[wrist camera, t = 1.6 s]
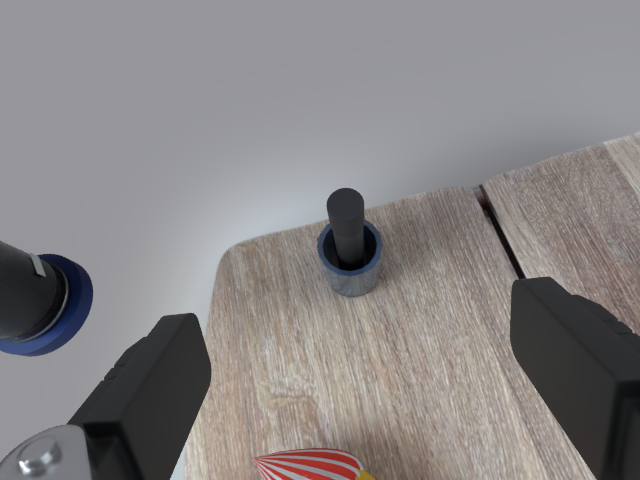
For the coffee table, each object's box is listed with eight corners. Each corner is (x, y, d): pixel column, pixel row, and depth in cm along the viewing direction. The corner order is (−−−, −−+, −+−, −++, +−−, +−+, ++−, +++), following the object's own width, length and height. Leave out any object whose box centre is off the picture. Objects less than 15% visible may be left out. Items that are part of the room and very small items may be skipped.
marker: (342, 283, 39) (330, 224, 27) (337, 259, 41) (323, 191, 28) (367, 278, 39) (367, 216, 27) (361, 254, 40) (359, 184, 28)
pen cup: (330, 302, 39) (323, 282, 33) (321, 251, 42) (312, 223, 35) (385, 291, 39) (389, 268, 33) (372, 240, 42) (373, 210, 35)
